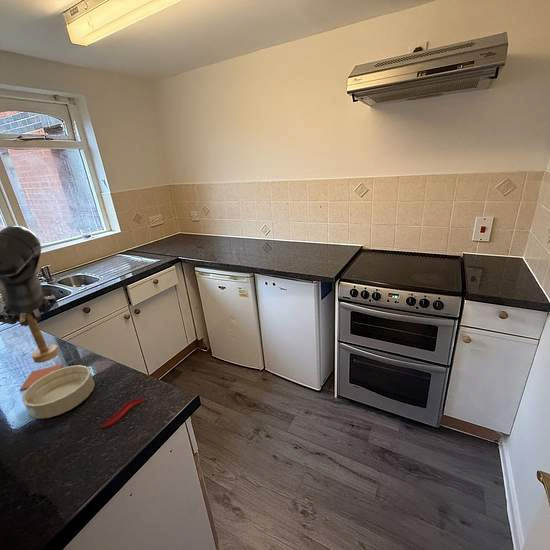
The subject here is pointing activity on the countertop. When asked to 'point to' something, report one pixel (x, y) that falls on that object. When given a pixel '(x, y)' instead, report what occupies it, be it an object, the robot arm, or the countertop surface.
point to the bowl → (58, 391)
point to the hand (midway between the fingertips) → (30, 321)
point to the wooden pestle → (40, 342)
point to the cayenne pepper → (122, 412)
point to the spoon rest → (38, 375)
